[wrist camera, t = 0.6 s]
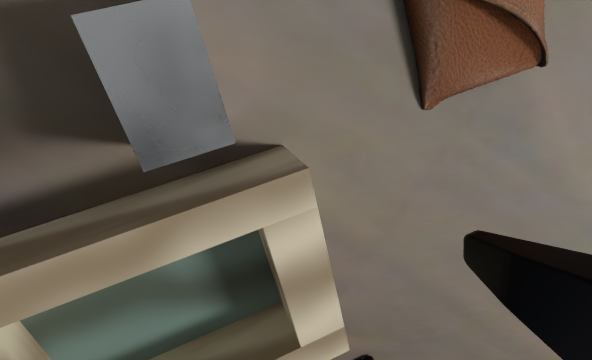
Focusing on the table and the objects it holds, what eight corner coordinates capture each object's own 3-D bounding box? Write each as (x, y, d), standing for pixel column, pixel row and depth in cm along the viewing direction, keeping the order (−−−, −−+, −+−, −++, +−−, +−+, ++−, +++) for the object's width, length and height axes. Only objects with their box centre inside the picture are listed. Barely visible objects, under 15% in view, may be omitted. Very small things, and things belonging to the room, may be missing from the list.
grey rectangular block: (223, 123, 18) (235, 143, 14) (151, 145, 18) (143, 172, 14) (184, 6, 16) (186, -10, 12) (98, 25, 15) (70, 15, 11)
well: (322, 304, 26) (349, 350, 22) (47, 428, 21) (17, 514, 17) (282, 145, 20) (308, 167, 16) (-105, 272, 16) (-200, 346, 12)
